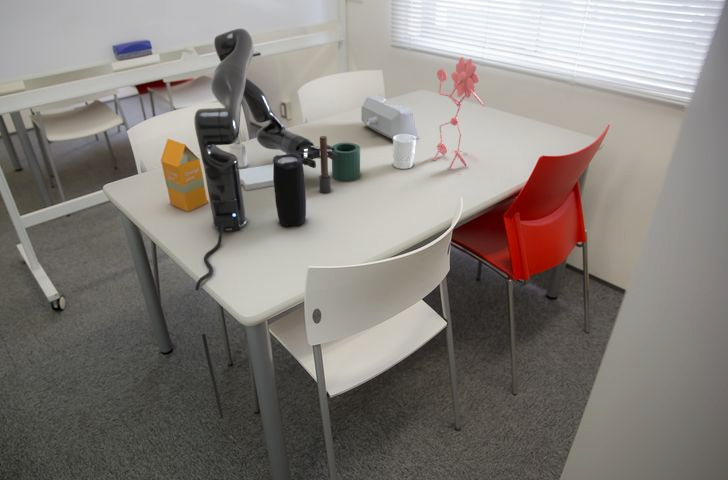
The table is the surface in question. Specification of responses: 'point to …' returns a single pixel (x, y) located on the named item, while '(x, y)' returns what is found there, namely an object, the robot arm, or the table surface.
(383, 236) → the table surface
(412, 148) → the white cup
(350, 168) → the green plastic pot
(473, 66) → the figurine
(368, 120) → the tank
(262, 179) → the mounting plate
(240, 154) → the eye dropper bottle
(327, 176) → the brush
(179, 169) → the orange juice
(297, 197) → the portable speaker
